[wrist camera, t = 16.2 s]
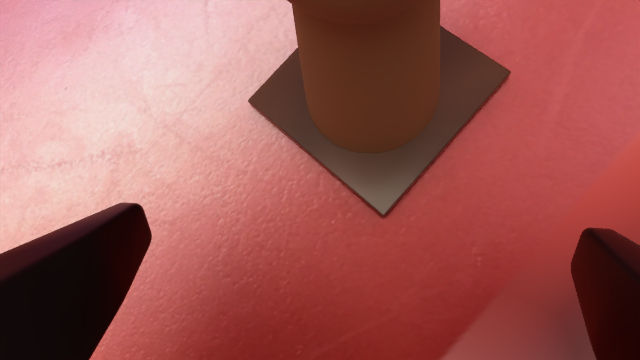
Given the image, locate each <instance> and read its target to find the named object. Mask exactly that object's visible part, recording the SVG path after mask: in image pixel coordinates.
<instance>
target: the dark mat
mask: <svg viewBox="0 0 640 360" xmlns="http://www.w3.org/2000/svg"><path fill="white" fill-rule="evenodd" d="M510 73H511V71H509V70H508V69H506V68H505V67H503V66H502V65H500V64H499V63H497V62H495V61H494V60H492V59H491V58H489V57H488V56H486V55H485V54H483V53H482V52H480V51H478V50H477V49H475V48H474V47H472V46H471V45H469V44H468V43H466V42H464V41H463V40H461V39H460V38H458V37H457V36H455V35H454V34H452V33H451V32H449V31H447V30H446V29H444V28H443V27H441V26H440V94H439V104H438V106H437V108H436V111H435V113H434V115H433V118H432V120H431V122H430V123H429V124H428V125H427V126H426V127H425V129H424V130H423V131H422V132H421V133H420V134H419V135H418V136H417V137H416V138H415V139H413V140H411V141H410V142H408V143H406V144H404V145H403V146H401V147H399V148H397V149H393V150H389V151H385V152H381V153H377V154H375V153H359V152H353V151H350V150H347V149H345V148H342V147H340V146H337V145H335V144H333V143H332V142H331V141H330V140H329V139H327V138H326V137H325V136H324V135H322V134H321V133H320V132H319V131H318V129H317V127H316V126H315V124H314V122H313V121H312V119H311V118H310V116H309V112H308V107H307V102H306V97H305V90H304V84H303V77H302V70H301V63H300V56H299V49H298V48H297V49H296V50H295V51H294V52H293V53H292V54H291V55H290V56H289V57H288V59H287V60H286V61H285V62H284V63H283V64H282V65H281V66H280V67H279V68H278V69H277V70H276V71H275V72H274V73H273V74H272V75H271V77H270V78H269V79H268V80H267V81H266V82H265V83H264V84H263V85H262V86H261V87H260V88H259V89H258V90H257V91H256V92H255V94H254V95H253V96H252V97H251V98H250V99H249V100H248V102H249V103H250V104H251V106H252V107H254V108H255V109H256V110H257V111H258V112H260V113H261V114H262V115H263V116H264V117H265V118H267V119H268V120H269V121H270V122H271V123H272V124H274V125H275V126H276V127H277V128H278V129H279V130H281V131H282V132H283V133H284V134H285V135H286V136H288V137H289V138H290V139H291V140H292V141H294V142H295V143H296V144H297V145H298V146H299V147H301V148H302V149H303V150H304V151H305V152H306V153H308V154H309V155H310V156H311V157H312V158H313V159H315V160H316V161H317V162H318V163H319V164H320V165H322V166H323V167H324V168H325V169H326V170H328V171H329V172H330V173H331V174H332V175H333V176H335V177H336V178H337V179H338V180H339V181H340V182H342V183H343V184H344V185H345V186H346V187H347V188H349V189H350V190H351V191H352V192H353V193H354V194H356V195H357V196H358V197H359V198H360V199H362V200H363V201H364V202H365V203H366V204H367V205H369V206H370V207H371V208H372V209H373V210H374V211H376V212H377V213H378V214H379V215H380V216H381V217H383V218H384V217H385V216H386V215H387V214H388V213H389V212H390V211H391V210H392V208H393V207H394V206H395V205H396V204H397V203H398V202H399V201H400V199H401V198H402V197H403V196H404V195H405V194H406V193H407V191H408V190H409V189H410V188H411V187H412V186H413V185H414V184H415V182H416V181H417V180H418V179H419V178H420V177H421V176H422V174H423V173H424V172H425V171H426V170H427V169H428V168H429V167H430V165H431V164H432V163H433V162H434V161H435V160H436V159H437V157H438V156H439V155H440V154H441V153H442V152H443V151H444V150H445V148H446V147H447V146H448V145H449V144H450V143H451V142H452V140H453V139H454V138H455V137H456V136H457V135H458V134H459V133H460V131H461V130H462V129H463V128H464V127H465V126H466V125H467V123H468V122H469V121H470V120H471V119H472V118H473V117H474V116H475V114H476V113H477V112H478V111H479V110H480V109H481V108H482V106H483V105H484V104H485V103H486V102H487V101H488V100H489V99H490V97H491V96H492V95H493V94H494V93H495V92H496V91H497V89H498V88H499V87H500V86H501V85H502V84H503V83H504V82H505V80H506V79H507V78H508V76H509V75H510Z"/></svg>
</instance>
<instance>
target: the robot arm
mask: <svg viewBox="0 0 640 360" xmlns="http://www.w3.org/2000/svg"><path fill="white" fill-rule="evenodd" d="M151 237H152V235H151V230H150V227H149V224H148V221H147V218H146V215H145V213H144V210H143V208H142V206H141V205H139V204H137V203H119V204H117V205H114V206H112V207H109V208H107V209H105V210H102V211H100V212H98V213H95V214H93V215H91V216H88V217H86V218H84V219H81V220H79V221H77V222H74V223H72V224H70V225H67V226H65V227H62V228H60V229H58V230H55V231H53V232H51V233H48V234H46V235H44V236H41V237H39V238H37V239H34V240H32V241H30V242H27V243H25V244H23V245H20V246H18V247H16V248H13V249H11V250H8V251H6V252H4V253H1V254H0V360H89V359H90V357H91V356H92V354H93V352H94V351H95V349H96V347H97V346H98V344H99V342H100V340H101V339H102V337H103V335H104V334H105V332H106V330H107V329H108V327H109V325H110V324H111V322H112V320H113V318H114V317H115V315H116V313H117V312H118V310H119V308H120V306H121V305H122V303H123V301H124V299H125V297H126V295H127V293H128V291H129V289H130V286H131V284H132V282H133V280H134V278H135V276H136V273H137V271H138V269H139V267H140V265H141V263H142V261H143V258H144V256H145V254H146V252H147V250H148V248H149V245H150V243H151ZM571 274H572V278H573V281H574V285H575V288H576V292H577V296H578V299H579V303H580V307H581V310H582V314H583V317H584V321H585V325H586V328H587V332H588V335H589V339H590V342H591V345H592V348H593V351H594V354H595V356H596V359H597V360H640V245H638V244H636V243H635V242H633V241H631V240H629V239H628V238H626V237H624V236H622V235H621V234H619V233H617V232H615V231H614V230H611V229H603V228H601V229H600V228H587V229H585V230H584V231H583V232H582V234H581V236H580V239H579V242H578V244H577V247H576V250H575V253H574V256H573V258H572V262H571Z"/></svg>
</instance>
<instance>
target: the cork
mask: <svg viewBox="0 0 640 360" xmlns="http://www.w3.org/2000/svg"><path fill="white" fill-rule="evenodd" d="M288 1H289V2H290V3H292V8H293V15H294V22H295V29H296V35H297V42H298V49H299V56H300V63H301V70H302V77H303V84H304V90H305V97H306V102H307V107H308V112H309V116H310V118H311V119H312V121H313V122H314V124H315V126H316V127H317V129H318V131H319V132H320V133H321V134H322V135H324V136H325V137H326V138H327V139H329V140H330V141H331V142H332V143H333V144H335V145H337V146H340V147H342V148H345V149H347V150H350V151H353V152H359V153H375V154H377V153H381V152H385V151H389V150H393V149H397V148H399V147H401V146H403V145H404V144H406V143H408V142H410V141H411V140H413V139H415V138H416V137H417V136H418V135H419V134H420V133H421V132H422V131H423V130H424V129H425V127H426V126H427V125H428V124H429V123H430V122H431V120H432V118H433V115H434V113H435V111H436V108H437V106H438V104H439V94H440V0H288Z"/></svg>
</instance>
